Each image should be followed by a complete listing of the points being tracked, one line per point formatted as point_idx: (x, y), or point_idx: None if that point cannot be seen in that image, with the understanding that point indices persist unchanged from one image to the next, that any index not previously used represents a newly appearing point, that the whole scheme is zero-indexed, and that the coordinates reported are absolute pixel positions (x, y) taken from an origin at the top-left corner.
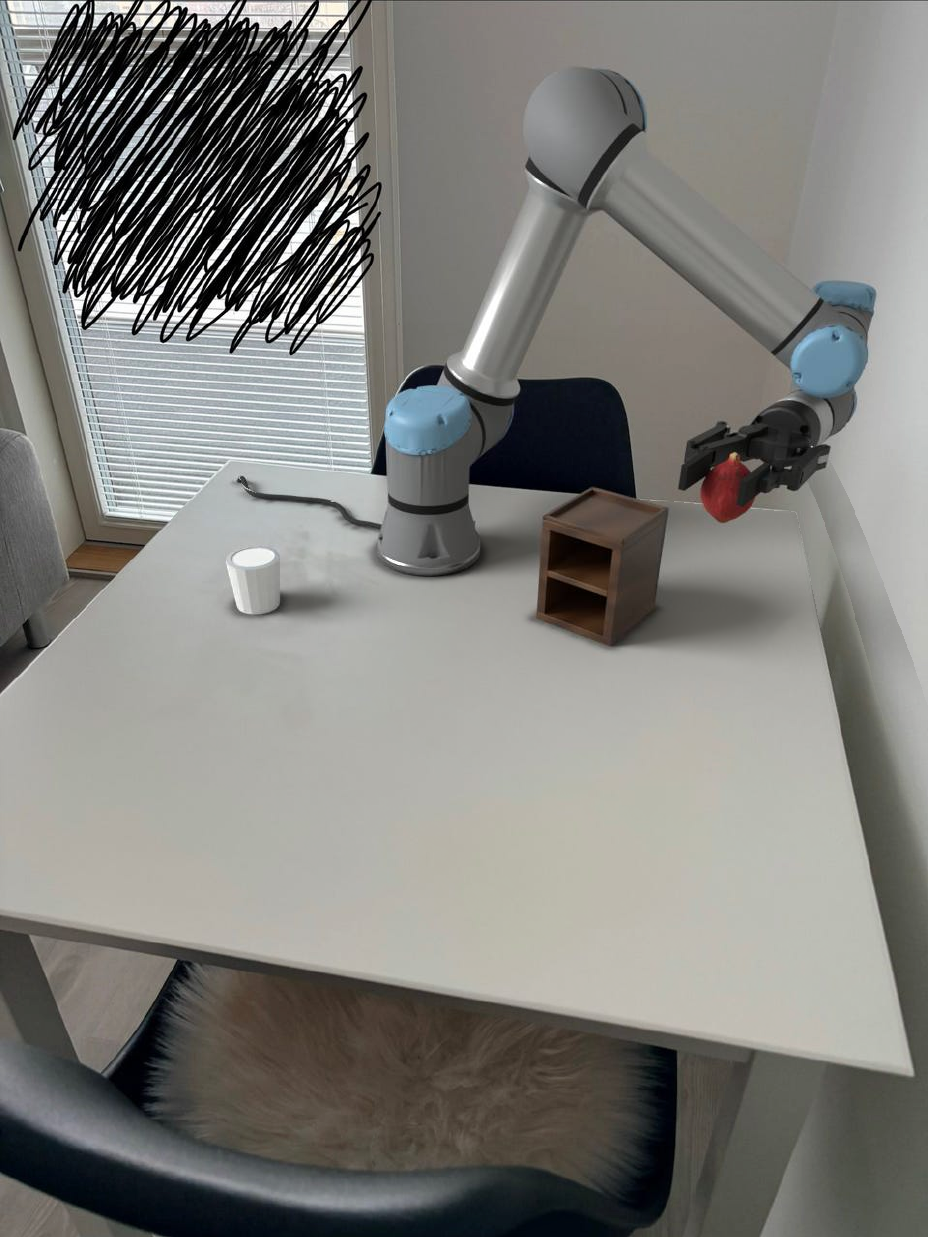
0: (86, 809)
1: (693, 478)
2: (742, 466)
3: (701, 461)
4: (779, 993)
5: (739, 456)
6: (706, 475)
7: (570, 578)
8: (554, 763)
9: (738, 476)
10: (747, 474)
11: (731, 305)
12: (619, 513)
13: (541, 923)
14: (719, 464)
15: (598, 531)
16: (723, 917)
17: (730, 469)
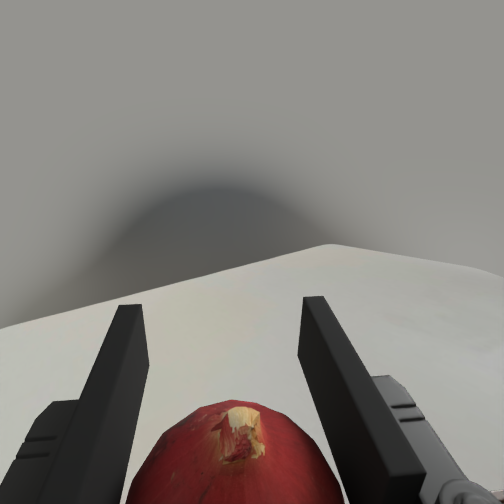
0: (368, 260)
1: (314, 377)
2: (188, 451)
3: (333, 374)
4: (48, 331)
5: (220, 444)
6: (329, 466)
7: None
8: (244, 380)
9: (183, 420)
10: (156, 464)
11: None
12: None
13: (175, 305)
14: (294, 443)
15: (495, 496)
16: (83, 347)
17: (221, 405)
